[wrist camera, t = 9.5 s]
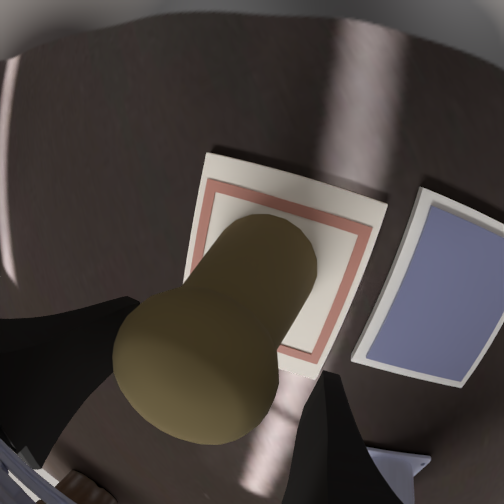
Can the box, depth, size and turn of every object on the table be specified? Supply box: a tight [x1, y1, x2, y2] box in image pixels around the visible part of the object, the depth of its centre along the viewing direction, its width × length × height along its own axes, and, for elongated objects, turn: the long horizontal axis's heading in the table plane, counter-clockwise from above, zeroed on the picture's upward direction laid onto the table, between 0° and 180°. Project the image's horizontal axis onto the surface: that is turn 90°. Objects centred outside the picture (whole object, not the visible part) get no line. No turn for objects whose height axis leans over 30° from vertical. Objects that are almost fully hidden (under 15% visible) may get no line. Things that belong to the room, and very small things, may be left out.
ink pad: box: [351, 186, 504, 388], centre depth 15 cm, size 11×9×1 cm
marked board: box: [183, 152, 388, 380], centre depth 18 cm, size 12×10×1 cm
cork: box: [112, 214, 317, 445], centre depth 12 cm, size 6×6×11 cm
